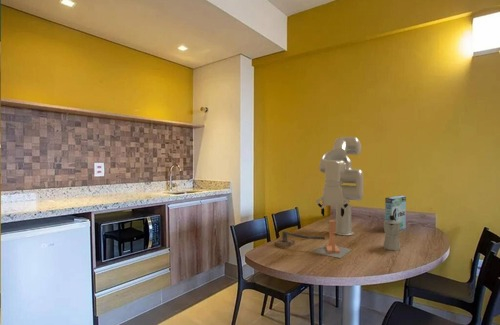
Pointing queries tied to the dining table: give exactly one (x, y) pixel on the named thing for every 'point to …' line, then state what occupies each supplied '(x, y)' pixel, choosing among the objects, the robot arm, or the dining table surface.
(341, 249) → the mat
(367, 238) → the dining table surface
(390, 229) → the coffee maker
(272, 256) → the dining table surface
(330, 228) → the orange block
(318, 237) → the stand
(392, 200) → the gum box
